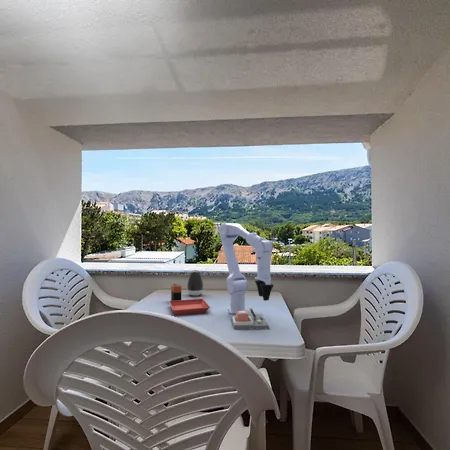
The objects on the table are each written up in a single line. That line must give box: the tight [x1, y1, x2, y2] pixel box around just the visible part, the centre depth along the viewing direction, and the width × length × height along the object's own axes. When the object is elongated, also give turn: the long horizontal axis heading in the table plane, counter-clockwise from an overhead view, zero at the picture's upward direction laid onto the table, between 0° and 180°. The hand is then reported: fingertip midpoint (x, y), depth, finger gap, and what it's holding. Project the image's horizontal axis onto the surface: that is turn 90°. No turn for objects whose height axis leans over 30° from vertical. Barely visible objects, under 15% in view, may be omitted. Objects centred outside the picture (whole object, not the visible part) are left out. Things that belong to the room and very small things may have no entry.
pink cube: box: [235, 310, 249, 322], centre depth 123 cm, size 4×4×4 cm
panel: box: [230, 313, 270, 330], centre depth 126 cm, size 16×14×2 cm
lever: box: [248, 305, 257, 320], centre depth 127 cm, size 3×1×6 cm, turn 4°
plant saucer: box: [169, 298, 211, 316], centre depth 146 cm, size 18×18×3 cm
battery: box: [170, 282, 182, 301], centre depth 163 cm, size 4×7×10 cm, turn 23°
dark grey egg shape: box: [186, 269, 204, 297], centre depth 179 cm, size 10×10×15 cm
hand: (263, 298), depth 128 cm, fingers open, 7 cm apart
